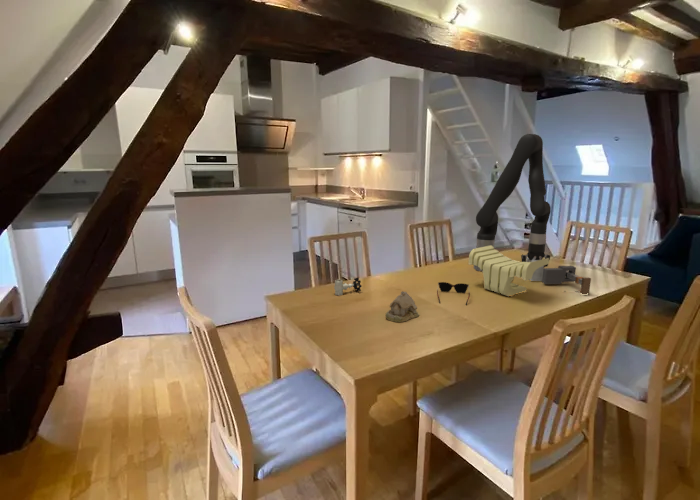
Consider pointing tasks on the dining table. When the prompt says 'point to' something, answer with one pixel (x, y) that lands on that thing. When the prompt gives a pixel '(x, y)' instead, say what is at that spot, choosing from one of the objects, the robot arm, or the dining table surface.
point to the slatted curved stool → (502, 270)
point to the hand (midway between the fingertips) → (533, 274)
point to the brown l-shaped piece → (580, 281)
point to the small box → (537, 272)
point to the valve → (346, 286)
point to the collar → (557, 275)
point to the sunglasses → (458, 287)
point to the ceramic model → (402, 308)
